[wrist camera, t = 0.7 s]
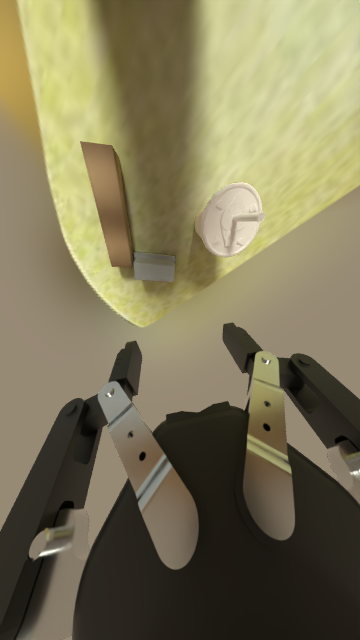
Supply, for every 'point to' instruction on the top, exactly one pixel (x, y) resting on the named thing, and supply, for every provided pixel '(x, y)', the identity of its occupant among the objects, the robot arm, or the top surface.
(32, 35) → the top surface
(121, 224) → the walnut bar
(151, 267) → the block
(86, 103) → the top surface
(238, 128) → the top surface
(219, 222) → the smoothie
